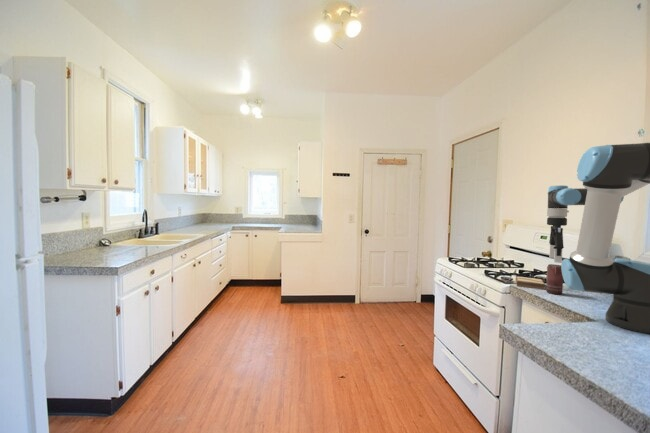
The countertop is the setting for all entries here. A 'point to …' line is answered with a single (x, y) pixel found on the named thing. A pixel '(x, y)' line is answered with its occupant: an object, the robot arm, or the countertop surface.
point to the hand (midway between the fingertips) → (555, 260)
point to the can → (554, 279)
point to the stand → (530, 283)
